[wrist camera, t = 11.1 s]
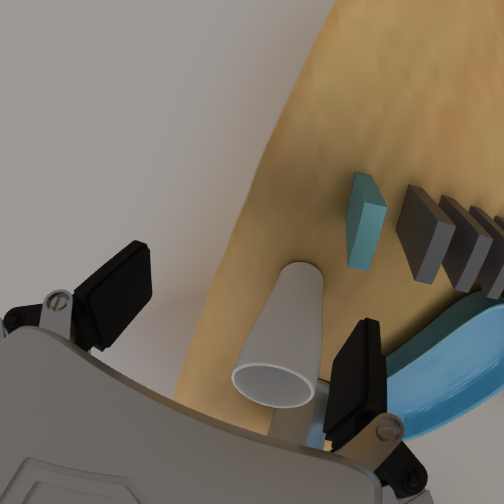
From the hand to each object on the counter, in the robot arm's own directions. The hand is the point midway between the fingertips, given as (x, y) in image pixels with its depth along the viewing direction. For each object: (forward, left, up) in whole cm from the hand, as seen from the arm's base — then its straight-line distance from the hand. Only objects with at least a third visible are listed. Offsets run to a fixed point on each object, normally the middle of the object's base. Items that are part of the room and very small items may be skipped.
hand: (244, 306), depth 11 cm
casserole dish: (-22, -26, -18) cm, 39 cm away
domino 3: (0, -19, -18) cm, 26 cm away
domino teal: (0, -6, -18) cm, 19 cm away
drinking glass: (-11, -2, -18) cm, 21 cm away
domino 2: (0, -15, -18) cm, 24 cm away
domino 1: (0, -11, -18) cm, 21 cm away
